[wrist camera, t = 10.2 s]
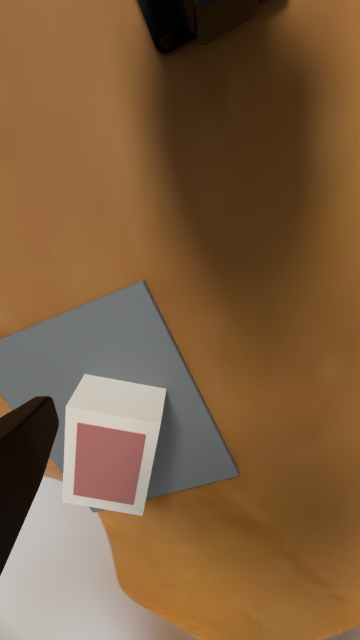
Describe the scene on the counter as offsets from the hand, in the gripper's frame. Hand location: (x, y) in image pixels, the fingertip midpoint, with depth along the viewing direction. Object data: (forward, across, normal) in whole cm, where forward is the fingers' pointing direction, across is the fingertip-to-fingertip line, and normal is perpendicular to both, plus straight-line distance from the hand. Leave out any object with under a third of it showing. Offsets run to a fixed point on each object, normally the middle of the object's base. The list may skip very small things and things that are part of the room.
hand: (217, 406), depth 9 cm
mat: (+13, +8, +11) cm, 19 cm away
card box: (+12, +7, +12) cm, 19 cm away
